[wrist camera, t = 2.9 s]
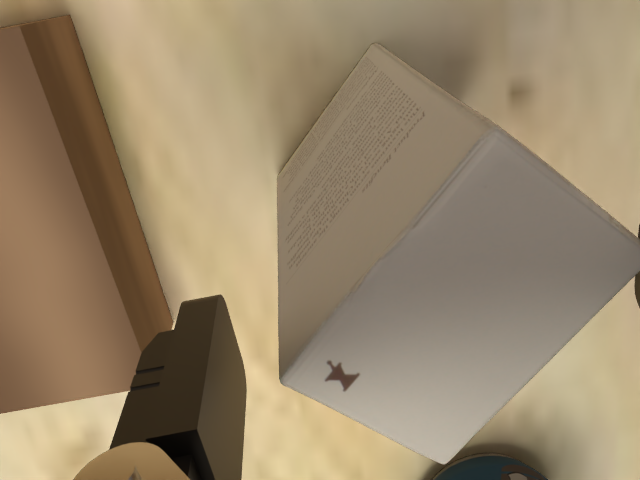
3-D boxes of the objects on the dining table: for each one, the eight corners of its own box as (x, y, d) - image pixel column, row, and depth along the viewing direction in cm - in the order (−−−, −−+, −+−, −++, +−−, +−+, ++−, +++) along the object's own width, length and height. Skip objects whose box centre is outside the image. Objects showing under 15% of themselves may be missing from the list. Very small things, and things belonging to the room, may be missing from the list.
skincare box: (365, 235, 23) (440, 478, 12) (274, 176, 22) (266, 387, 11) (468, 107, 21) (669, 258, 10) (374, 34, 20) (488, 117, 9)
